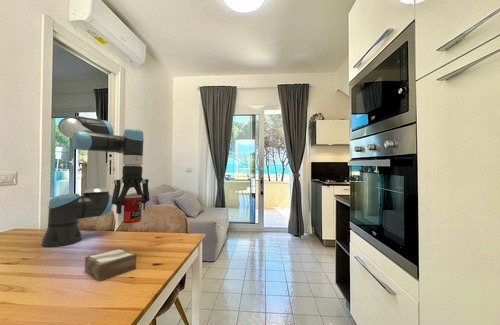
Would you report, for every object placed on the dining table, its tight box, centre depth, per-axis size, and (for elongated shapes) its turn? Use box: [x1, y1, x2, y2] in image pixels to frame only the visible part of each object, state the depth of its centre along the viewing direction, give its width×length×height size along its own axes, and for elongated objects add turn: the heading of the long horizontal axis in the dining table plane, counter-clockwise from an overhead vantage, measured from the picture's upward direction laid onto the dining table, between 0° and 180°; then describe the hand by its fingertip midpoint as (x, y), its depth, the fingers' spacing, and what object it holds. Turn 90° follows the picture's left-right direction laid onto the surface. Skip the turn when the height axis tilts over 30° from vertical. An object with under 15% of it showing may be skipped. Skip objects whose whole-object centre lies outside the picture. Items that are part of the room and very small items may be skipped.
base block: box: [84, 248, 137, 282], centre depth 82 cm, size 12×12×5 cm
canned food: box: [120, 193, 142, 224], centre depth 95 cm, size 8×8×11 cm
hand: (130, 219), depth 95 cm, fingers closed on canned food, 8 cm apart
